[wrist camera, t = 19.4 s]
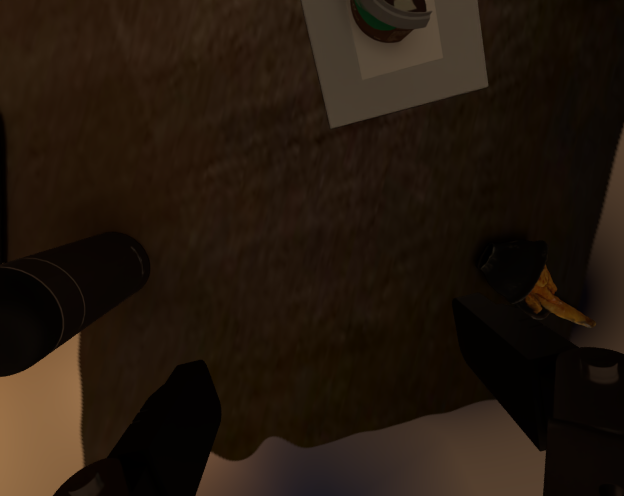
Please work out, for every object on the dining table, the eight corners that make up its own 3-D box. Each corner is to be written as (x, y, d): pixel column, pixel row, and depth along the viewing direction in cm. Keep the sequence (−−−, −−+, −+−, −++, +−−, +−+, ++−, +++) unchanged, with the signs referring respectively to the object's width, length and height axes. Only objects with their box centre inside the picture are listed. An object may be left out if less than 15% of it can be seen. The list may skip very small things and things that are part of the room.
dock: (330, 129, 43) (331, 128, 42) (280, -88, 38) (279, -96, 37) (484, 88, 43) (489, 85, 42) (454, -139, 37) (459, -149, 36)
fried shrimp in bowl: (507, 214, 42) (672, 274, 38) (476, 240, 52) (602, 289, 48) (482, 281, 40) (652, 352, 36) (455, 294, 50) (584, 350, 46)
